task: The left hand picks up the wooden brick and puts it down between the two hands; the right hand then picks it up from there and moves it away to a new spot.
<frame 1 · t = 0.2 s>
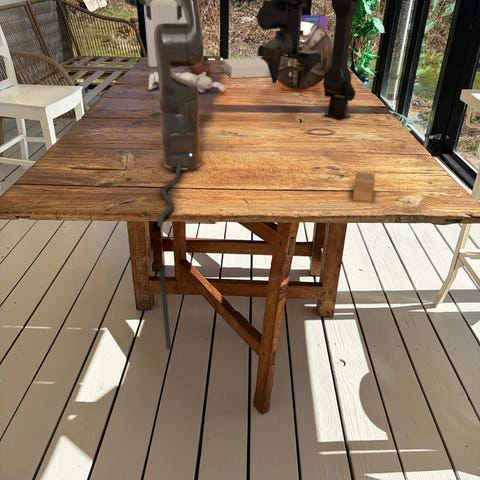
left hand: (164, 19, 145), 29 cm above the table, tool pointing down, fingers open, 8 cm apart
right hand: (286, 85, 136), 14 cm above the table, tool pointing down, fingers open, 9 cm apart
brick: (361, 196, 108), on the table
anatomical model: (199, 75, 211), on the table
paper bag: (171, 64, 231), on the table
toy: (188, 91, 186), on the table
disc drive: (251, 73, 215), on the table
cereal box: (301, 74, 216), on the table
sphere: (298, 89, 192), on the table
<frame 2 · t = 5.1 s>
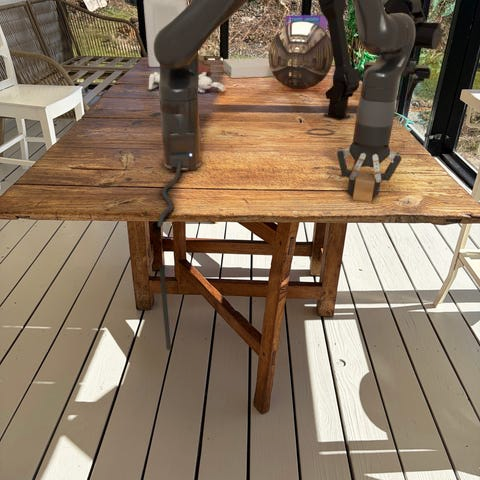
left hand: (362, 194, 108), 0 cm above the table, tool pointing down, fingers closed on brick, 4 cm apart
right hand: (391, 99, 145), 9 cm above the table, tool pointing down, fingers open, 9 cm apart
brick: (361, 196, 108), on the table, touching left hand
everything else where it was.
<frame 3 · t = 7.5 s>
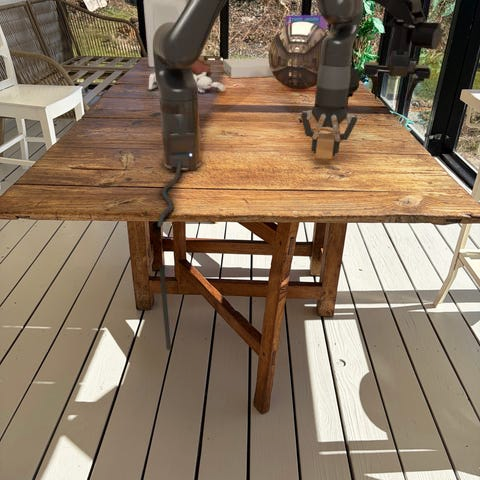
left hand: (324, 153, 120), 4 cm above the table, tool pointing down, fingers closed on brick, 4 cm apart
right hand: (391, 99, 145), 9 cm above the table, tool pointing down, fingers open, 9 cm apart
brick: (324, 155, 120), point 3 cm above the table, touching left hand
everything else where it was.
when the left hand's fingers open (2 cm above the table, at t = 10.2 s): brick drops 1 cm, on the table.
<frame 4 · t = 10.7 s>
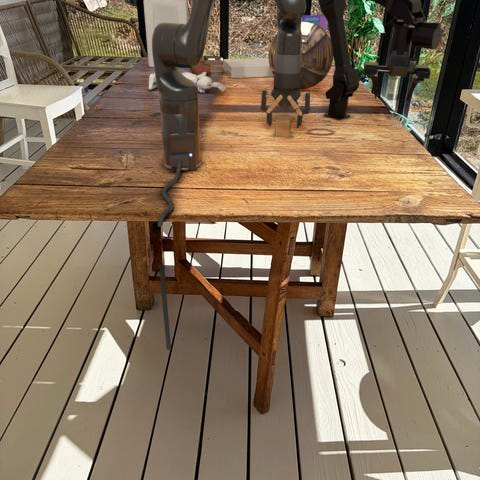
left hand: (283, 126, 143), 2 cm above the table, tool pointing down, fingers open, 8 cm apart
right hand: (391, 99, 145), 9 cm above the table, tool pointing down, fingers open, 9 cm apart
brick: (283, 134, 144), on the table
everything else where it was.
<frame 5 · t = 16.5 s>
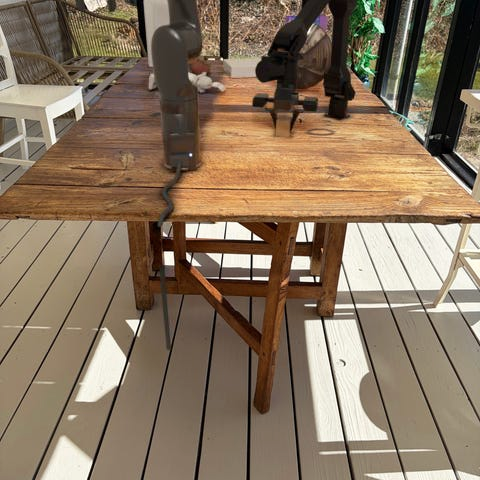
left hand: (97, 11, 126), 33 cm above the table, tool pointing down, fingers open, 8 cm apart
right hand: (283, 130, 144), 1 cm above the table, tool pointing down, fingers closed on brick, 4 cm apart
brick: (283, 134, 144), on the table, touching right hand
everything else where it was.
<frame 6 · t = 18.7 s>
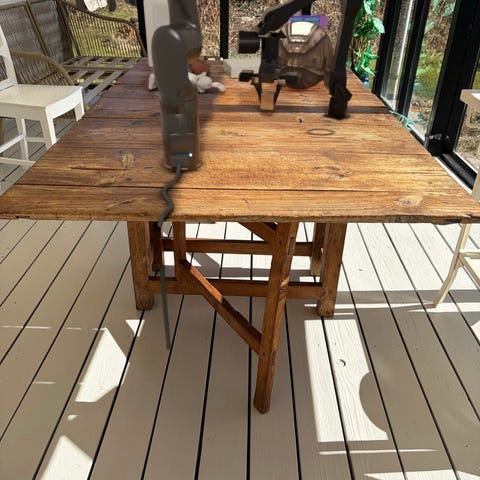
left hand: (97, 11, 126), 33 cm above the table, tool pointing down, fingers open, 8 cm apart
right hand: (267, 104, 156), 5 cm above the table, tool pointing down, fingers closed on brick, 4 cm apart
brick: (267, 107, 156), point 3 cm above the table, touching right hand
everything else where it was.
when the right hand's fingers open (2 cm above the table, at t = 20.8 s): brick drops 1 cm, on the table.
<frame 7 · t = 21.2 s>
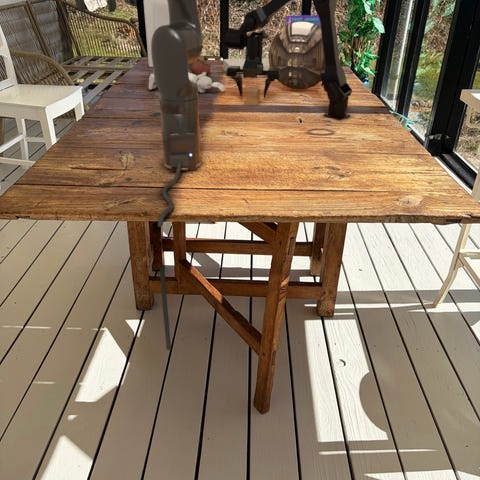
left hand: (97, 11, 126), 33 cm above the table, tool pointing down, fingers open, 8 cm apart
right hand: (252, 97, 173), 2 cm above the table, tool pointing down, fingers open, 8 cm apart
brick: (252, 102, 174), on the table
everything else where it was.
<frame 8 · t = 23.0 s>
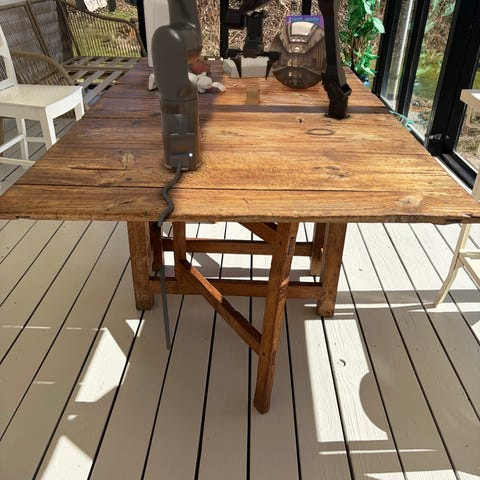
left hand: (97, 11, 126), 33 cm above the table, tool pointing down, fingers open, 8 cm apart
right hand: (253, 79, 169), 8 cm above the table, tool pointing down, fingers open, 9 cm apart
nothing on the table moved.
at the end: brick inside the target area (0.1 cm from its centre), on the table; brick tilted 0°; the two hands never held the brick at the same time; the left hand is holding nothing; the right hand is holding nothing; brick at rest at the end (0.0 cm/s) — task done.
